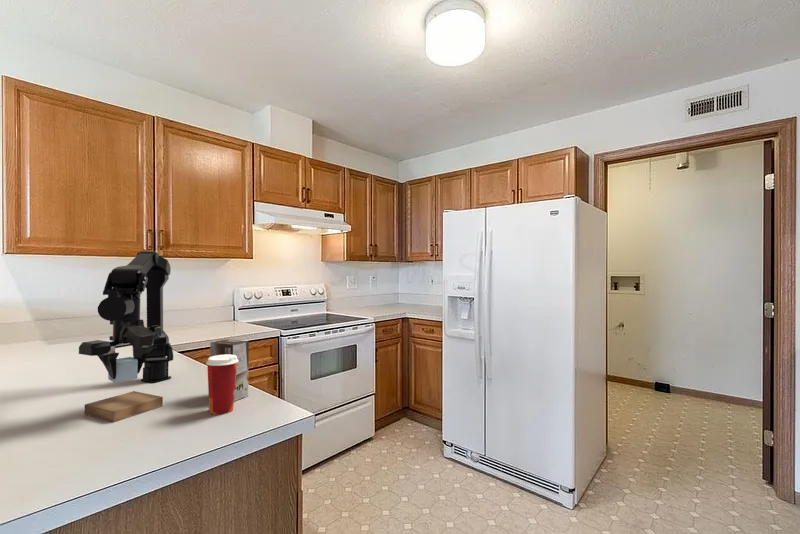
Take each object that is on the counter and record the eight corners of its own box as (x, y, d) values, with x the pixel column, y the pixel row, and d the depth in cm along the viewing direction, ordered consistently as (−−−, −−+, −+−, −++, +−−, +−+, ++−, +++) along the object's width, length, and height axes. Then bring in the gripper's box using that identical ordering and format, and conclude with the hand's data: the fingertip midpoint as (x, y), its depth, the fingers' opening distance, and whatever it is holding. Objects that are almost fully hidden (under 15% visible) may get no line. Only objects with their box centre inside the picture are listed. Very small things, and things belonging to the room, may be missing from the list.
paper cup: (243, 407, 101) (244, 355, 101) (221, 418, 94) (222, 361, 94) (220, 404, 104) (221, 353, 104) (197, 413, 96) (198, 358, 97)
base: (133, 400, 106) (133, 391, 106) (162, 406, 102) (162, 396, 102) (84, 414, 95) (84, 404, 95) (114, 422, 91) (114, 411, 91)
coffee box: (249, 395, 111) (250, 340, 111) (232, 402, 105) (233, 344, 105) (226, 391, 114) (226, 338, 115) (208, 398, 109) (209, 342, 109)
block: (130, 375, 103) (130, 356, 103) (137, 378, 100) (137, 359, 100) (108, 379, 99) (108, 360, 99) (114, 382, 96) (115, 362, 96)
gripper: (106, 322, 87) (105, 390, 87) (181, 314, 105) (180, 371, 104) (78, 319, 92) (76, 384, 91) (154, 312, 109) (153, 366, 109)
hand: (125, 376), depth 99 cm, fingers closed on block, 5 cm apart
